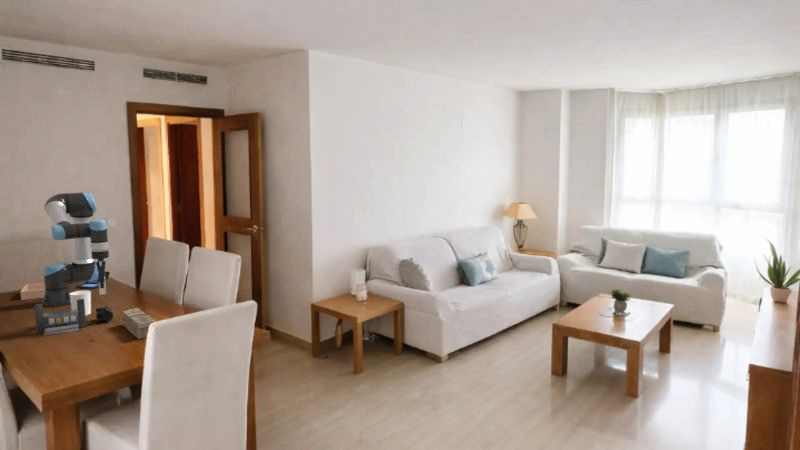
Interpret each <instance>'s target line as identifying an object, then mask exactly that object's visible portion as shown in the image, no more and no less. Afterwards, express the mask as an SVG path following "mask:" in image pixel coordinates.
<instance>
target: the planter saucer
mask: <svg viewBox="0 0 800 450" xmlns="http://www.w3.org/2000/svg"><path fill="white" fill-rule="evenodd" d="M44 294H45V283H44V282H38V283H30V284H25V285H24V286H23V287H22V289H21V291H20V300H21V301H24V300H26V301H27V300H33V299H35V300H36V299H43V297H44Z"/></svg>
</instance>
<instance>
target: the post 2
mask: <svg viewBox="0 0 800 450" xmlns="http://www.w3.org/2000/svg"><path fill="white" fill-rule="evenodd" d="M77 308H78V320H79V329H85V328H87V322H86V321H87V320H86V317H87V316H85V304H84V299H78V300H77Z"/></svg>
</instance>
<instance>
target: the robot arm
mask: <svg viewBox="0 0 800 450" xmlns="http://www.w3.org/2000/svg"><path fill="white" fill-rule="evenodd" d="M44 211H45V213H46V215H47V216H49V219H50V220H51V223H52V226H51V228H50V229H51V230H50V231H51V237H52V238H51V239H52V240H55V241H59V240H60V241H64V240H73V247H74V248H73V249H74V257H73V259H72V260H71V263H68V261H58V262H54V263H53V262H52V263H50V264H47V265H45V266H44V267H43V274H42V275H43V280H44V282H43V283H45V294H44V297H43V298H42V300H41V301H42V303H41V304H42V307H50V308H51V307H60V306H65V305H71V302H70V295H69V294H70V293H72V291H71V290H70V285H71V284H73V285H74V284H78V283H79V284H80V283H85V282H89V281H94V280H96V278H97V276H98V277H99V280H97V282H99V288H98V290H99V291H98V293H99V296H101V295H107V293H106V292H107V291H106V290H107V282H106V278H105V276H107V274H105V271H106V260H105V259H108V258H110V252H109V241H108V240H109V239H108V225H107V220H105V219H93V220H92V218H93V217H94V214H96V213H97V204H96V201H95V197H94V195H93V193H91V192H69V193H68V192H66V193H65V192H64V193H57V194H53V196H51V197H49V198H48V199H47V200H46V201H45V203H44ZM69 217H70V218H71V219H72V222H71V219H70V218H69ZM96 260H97V261H96Z"/></svg>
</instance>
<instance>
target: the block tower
mask: <svg viewBox="0 0 800 450" xmlns="http://www.w3.org/2000/svg"><path fill="white" fill-rule="evenodd" d="M153 322H156V323H157V320H156V319H154V318H153V317H151V316H150V315H149V314H146V312H144V311H143V310H141V309H140V308H139V307H136V308H135V307H134V308H131V309H126V310H124V311H122V323H123V327H124V328H125V329H127V330H128V331H129V332H130V334H132V335H133V336H135V338H137V340H138V339H139V340H142V339H144V338H145V339H146V338H147V337H146V336H147V332H148V327H149V325H150V324H151V323H153Z"/></svg>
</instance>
